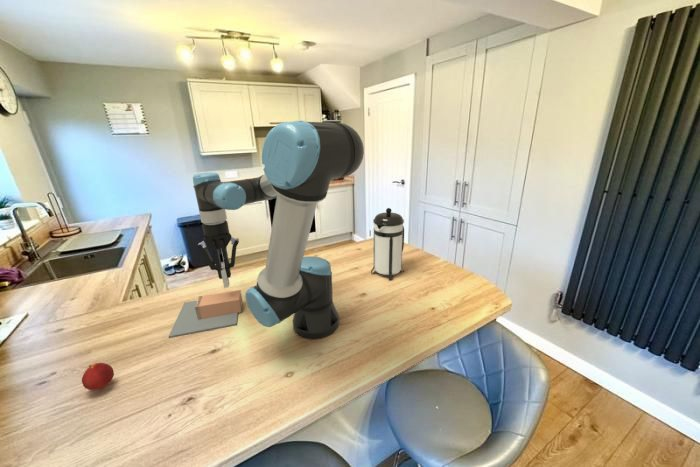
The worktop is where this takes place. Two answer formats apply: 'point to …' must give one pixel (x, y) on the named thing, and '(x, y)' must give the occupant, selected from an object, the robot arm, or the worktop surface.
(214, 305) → the tall block
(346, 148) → the robot arm
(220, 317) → the mat
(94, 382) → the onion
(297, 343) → the worktop surface
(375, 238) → the coffee press
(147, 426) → the worktop surface
